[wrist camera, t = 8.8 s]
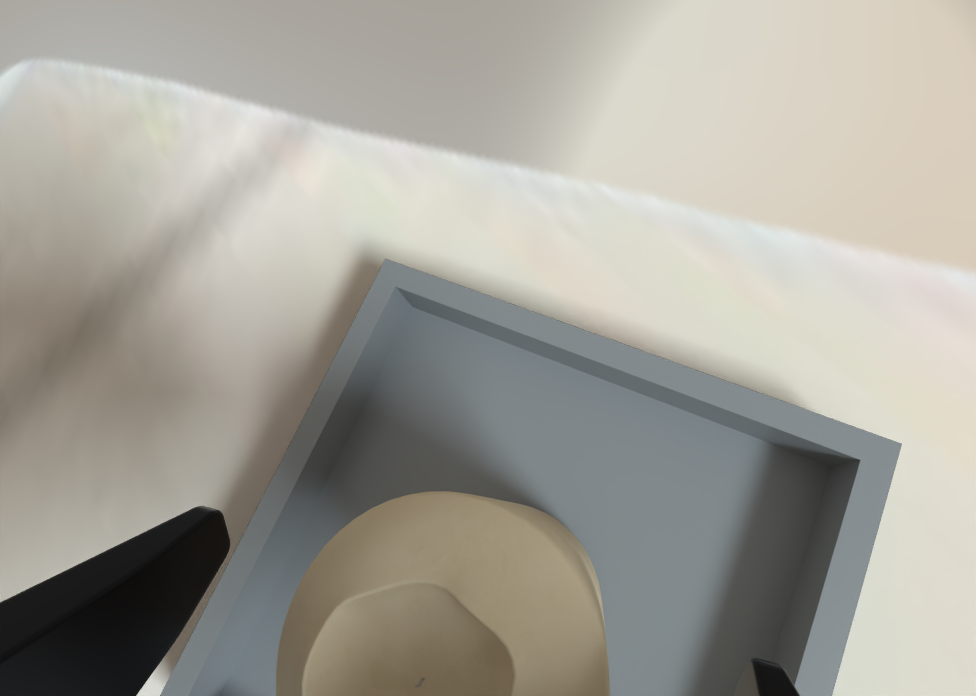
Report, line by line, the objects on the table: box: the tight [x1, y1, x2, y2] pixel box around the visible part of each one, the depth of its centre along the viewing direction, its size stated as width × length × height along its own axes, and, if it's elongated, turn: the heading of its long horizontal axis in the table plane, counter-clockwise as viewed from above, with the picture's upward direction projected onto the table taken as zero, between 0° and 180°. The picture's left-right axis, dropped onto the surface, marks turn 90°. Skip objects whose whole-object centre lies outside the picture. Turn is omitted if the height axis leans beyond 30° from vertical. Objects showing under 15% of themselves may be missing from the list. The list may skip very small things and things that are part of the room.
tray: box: [160, 259, 902, 696], centre depth 16 cm, size 16×16×2 cm
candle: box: [276, 491, 610, 696], centre depth 12 cm, size 6×6×10 cm
